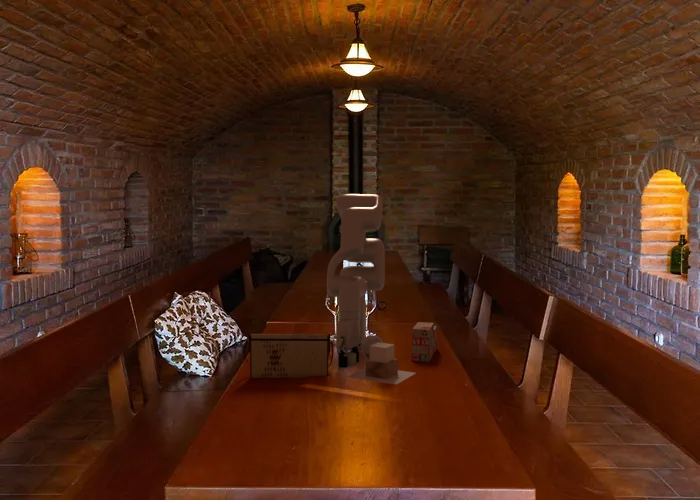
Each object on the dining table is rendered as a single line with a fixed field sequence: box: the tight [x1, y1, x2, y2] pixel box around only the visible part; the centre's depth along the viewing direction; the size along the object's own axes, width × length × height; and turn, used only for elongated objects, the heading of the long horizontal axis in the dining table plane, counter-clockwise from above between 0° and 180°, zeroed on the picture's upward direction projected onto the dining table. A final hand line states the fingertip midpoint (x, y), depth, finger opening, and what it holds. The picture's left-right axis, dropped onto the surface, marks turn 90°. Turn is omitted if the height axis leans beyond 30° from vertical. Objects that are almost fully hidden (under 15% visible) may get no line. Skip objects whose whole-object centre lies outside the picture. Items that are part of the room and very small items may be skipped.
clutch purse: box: [243, 333, 335, 379], centre depth 245 cm, size 30×7×15 cm, turn 91°
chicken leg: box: [361, 334, 384, 358], centre depth 269 cm, size 8×18×8 cm, turn 6°
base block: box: [365, 357, 399, 379], centre depth 244 cm, size 8×8×5 cm
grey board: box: [346, 366, 417, 385], centre depth 244 cm, size 18×16×1 cm
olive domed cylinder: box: [346, 351, 357, 367], centre depth 258 cm, size 5×5×5 cm
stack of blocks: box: [411, 321, 438, 363], centre depth 277 cm, size 21×6×12 cm, turn 166°
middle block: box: [369, 342, 395, 363], centre depth 244 cm, size 6×6×5 cm
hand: (348, 364), depth 258 cm, fingers open, 8 cm apart
